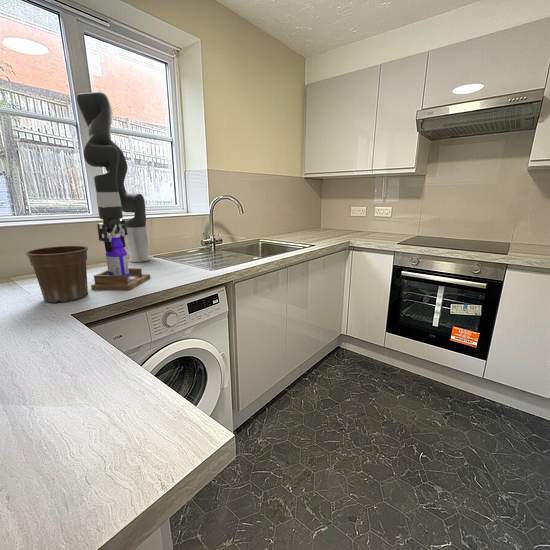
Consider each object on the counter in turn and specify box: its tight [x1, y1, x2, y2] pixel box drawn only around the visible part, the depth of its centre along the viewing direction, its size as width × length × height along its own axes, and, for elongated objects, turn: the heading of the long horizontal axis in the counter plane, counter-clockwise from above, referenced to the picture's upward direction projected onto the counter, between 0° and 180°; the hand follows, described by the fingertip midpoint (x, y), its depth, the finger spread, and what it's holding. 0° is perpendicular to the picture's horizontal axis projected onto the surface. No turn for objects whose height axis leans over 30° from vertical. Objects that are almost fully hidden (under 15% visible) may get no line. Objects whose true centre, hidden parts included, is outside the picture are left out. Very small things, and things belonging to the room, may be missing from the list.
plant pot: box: [25, 245, 89, 304], centre depth 97 cm, size 16×16×16 cm
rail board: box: [90, 267, 151, 291], centre depth 113 cm, size 16×14×4 cm
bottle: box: [105, 233, 130, 278], centre depth 111 cm, size 7×6×17 cm
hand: (116, 249), depth 111 cm, fingers open, 8 cm apart
